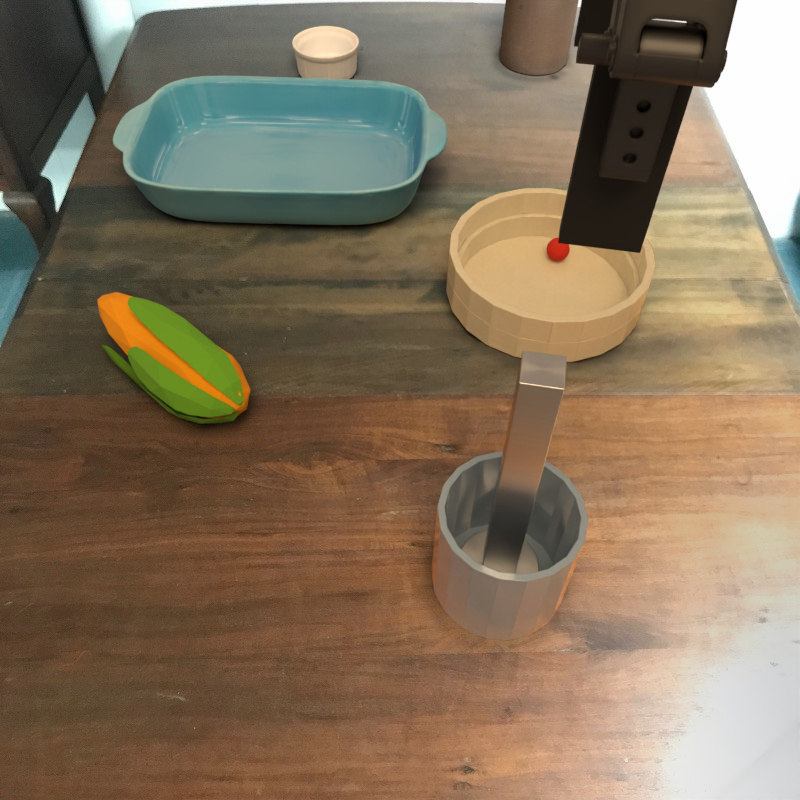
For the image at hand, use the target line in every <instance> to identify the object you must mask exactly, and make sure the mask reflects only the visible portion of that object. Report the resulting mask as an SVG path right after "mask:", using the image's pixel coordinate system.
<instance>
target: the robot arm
mask: <svg viewBox="0 0 800 800" xmlns="http://www.w3.org/2000/svg"><path fill="white" fill-rule="evenodd" d="M737 5H738V0H581V1H580V7H579V13H578V18H577V24H576V28H575V34H574V40H573V47H577V49H576V58H575V64H580V65H588V66H589V65H590V66H593V67H592V73H591V77H590V82H589V87H588V91H587V97H586V100H585V106H584V111H583V115H582V121H581V125H580V129H579V133H578V139H577V143H576V149H575V153H574V158H573V163H572V168H571V172H570V177H569V182H568V186H567V190H566V191H567V196H566V200H565V205H564V210H563V215H562V219H561V224H560V229H559V241H558V243H562V244H570V245H578V246H586V247H595V248H603V249H611V250H619V251H627V252H635V253H640V252H641V248H642V245H643V242H644V239H645V236H646V237H647V233H648V229H649V227H650V223H651V220H652V217H653V215H654V214H653V213H654V210H655V207H656V204H657V201H658V198H659V195H660V191H661V190H662V185H663V182H664V180H665V176H666V173H667V170H668V167H669V164H670V161H671V157H672V154H673V151H674V148H675V146H676V145H675V144H676V142H677V138H678V135H679V133H680V129H681V126H682V123H683V120H684V116H685V114H686V110H687V107H688V104H689V101H690V98H691V96H692V91H693V90H694V87H698V88H709V89H712V88H713V87H715V84H716V83H718V81H719V80H720V78H721V75H722V73H723V71H724V70H725V67H726V64H727V60H728V50H727V46H728V42H729V38H730V34H731V31H732V30H731V29H732V25H733V21H734V17H735V12H736V8H737Z"/></svg>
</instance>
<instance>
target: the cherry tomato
mask: <svg viewBox="0 0 800 800" xmlns="http://www.w3.org/2000/svg"><path fill="white" fill-rule="evenodd" d="M558 241H559V238H554V239H552V240H551V241H550V242H549V243H548V245H547V249H546V250H547V254H548V256H549V257H550V258H551V259H552V260H555V261H561V260H563V259H565V258H566V257H567V256H568V254H569V251H570V246H569V244H562V243H558Z"/></svg>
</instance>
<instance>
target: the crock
mask: <svg viewBox="0 0 800 800" xmlns="http://www.w3.org/2000/svg"><path fill="white" fill-rule="evenodd" d="M502 454H503V450H501V451H500V450H499V451H495V452H490V453H485V454H479V455H478V456H477V455H476V456H474V457H473V458H471V459H470V460H468V461H466V462H465V463H463V464H461V465H459V466H458V467H456V468H455V470H454V471H453V472H452V473H451V475H450V476H449V478H447V480H446V481H445V482H444V484H443V485H442V488H441V491H440V496H439V499H438V503H437V506H436V507H437V508H436V517H435V518H436V519H435V527H434V528H435V529H434V537H433V538H434V539H433V549H432V550H433V551H432V560H431V579H432V586H433V592H434V595H435V596H436V599H437V601H438V603H439V605H440V606H441V608H442V610H443V612H444V613H445V614H446V615H447V616H448V617H449V618H450V619H451V620H452V621H453V622H454V623H455V624H457V625H458V626H459V627H460V628H461V629H463V630H465V631H467V632H469V633H471V634H473V635H476V636H478V637H481V638H484V639H488V640H489V639H490V640H495V641H512V640H518V639H521V638H524V637H527V636H531V635H533V634H535V633H536V632H537V631H540V630H541V629H542V628H543V627H544V626H545V625H547V624H548V623H550V621H551V620H552V618H553V617H554V616H555V614H556V612H557V611H558V609H559V607H560V606H561V604H562V601H563V599H564V596H565V594H566V591H567V589H568V587H569V584H570V581H571V579H572V576H573V574H574V571H575V568H576V566H577V563H578V561H579V559H580V556H581V553H582V551H583V549H584V545H585V543H586V541H587V540H586V539H587V532H588V524H589V516H588V512H587V509H586V505H585V502H584V497H583V495H582V494H581V493H580V491H579V490H578V488H577V487H576V485H575V484H574V483H573V481H572V479H570V477H569V476H568V475H566V474H565V473H564V472H562V470H560V469H558V468H557V467H556V466H555V465H553V464H552V463H551V462H549V461H548V460H546V461H545V465H544V468H543V472H542V476H541V480H540V483H539V487H538V491H537V494H536V498H535V502H534V505H533V509H532V513H531V516H530V520H529V524H528V528H527V531H526V535H525V540H526V541H527V542H528V543H529V544H530V546H531V547H532V548H533V550H534V552H535V554H536V556H537V559H538V564H539V571H538V572H534V573H530V574H526V575H524V574H512V573H501V572H498V571H495V570H493V569H491V568H488V567H486V566H483V565H481V564H479V563H476V562H475V561H474V560H473V559H472V558H471V557H470V556H468V555H467V554H466V553H465V552H464V551H463V550H461V548H462V547H463V545H464V543H465V542H466V541H467V540H468V539H469V538H470V537H471V536H473V535H474V534H476V533H478V532H480V531H483V530H487V529H488V526H489V521H490V516H491V510H492V505H493V500H494V495H495V490H496V485H497V480H498V474H499V469H500V464H501V459H502Z"/></svg>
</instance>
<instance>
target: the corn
mask: <svg viewBox="0 0 800 800" xmlns="http://www.w3.org/2000/svg"><path fill="white" fill-rule="evenodd" d="M96 303H97V307H98V313H99V317H100V319H101V321H102V323H103V326H104V327H105V329H106V331H107V334H108V335H109V336H110V337H111V338H112V339H113V341H114V342H115V343H116V344H117V345H118V346H119V348H120V349H121V350H122V351H123V352H124V353H125V355H126V356H127V358H128V361H129V362H128V361H126V360H125V359H124V358H123V357H122V356H121V355H120V354H119V353H117V352H116V351H115V350H114V349H113V348H112V347H110V346H108V345H105V344H100V346H101V348H102V349H103V351H104V352H105V353H106V354H107V356H108V357H109V359H110V360H111V362H113V363H114V364H115V365H116V366H117V367H118V368H119V369H120V370H121V371H123V372H124V374H126V375H127V376H128V377H129V378H130V379H131V380H132V381H133V382H135V383H136V384H137V385H138V386H139V387H140V388H141V389H142V390H143V391H144V392H145V393H146V394H148V395H149V396H150V397H151V398H152V399H153V400H155V401H156V402H157V403H158V404H159V405H160V406H161V407H162V408H163V409H165V410H166V411H167V412H168V413H169V414H171V415H173V416H175V417H177V418H179V419H181V420H184V421H185V420H186V421H189V422H193V423H196V424H201V425H202V424H203V425H205V424H224V423H230V422H233V421H235V420H236V419H237V418H238V417H239V416H240V415H241V414H242V413H243V412H245V411H246V410H247V409H248V407H249V402H250V398H251V390H252V389H251V387H250V385H249V383H248V380H247V378H246V376H245V374H244V371H243V369H242V367H241V364H240V363H239V362H238V361H237V359H236V358H235V357H234V356H233V355H232V354H231V353H229V352H227V350H224V349H223V348H221V347H220V346H219V345H218V344H216V343H214V341H212V340H211V339H210V338H209V337H207V336H206V335H205V334H204V333H203V332H201V330H199V329H198V328H197V327H195V325H193V324H191V323H190V322H189V321H188V320H187V319H186V318H184V317H183V316H181V315H180V314H178V313H176V312H174V311H172V310H171V309H169V308H168V307H166V306H164V305H163V304H160V303H159V302H155V301H152V300H149V299H146V298H143V297H137V296H132V295H128V294H125V293H122V292H118V291H114V292H111V293H107V294H102V295H101V296H100V297H99V298H97V302H96Z"/></svg>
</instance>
